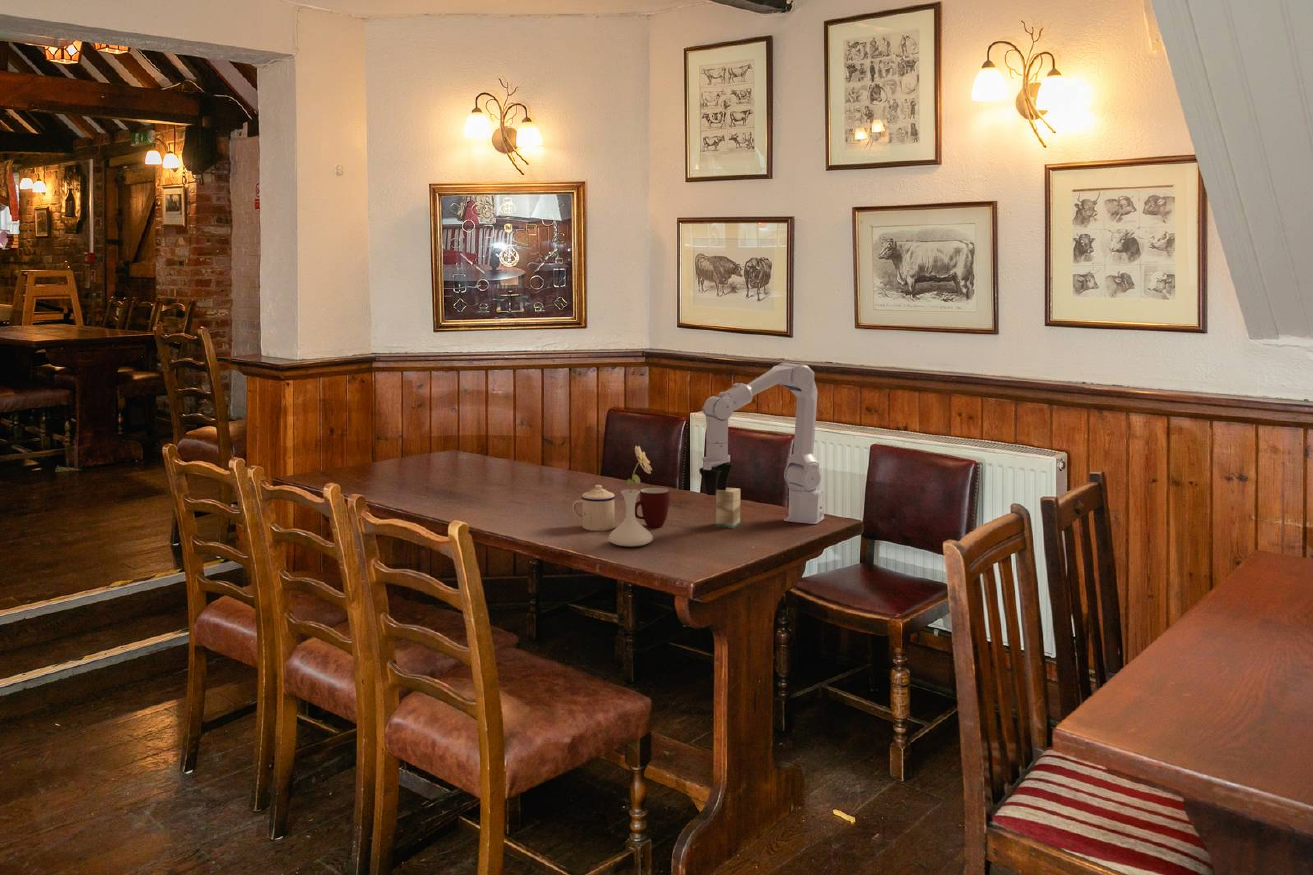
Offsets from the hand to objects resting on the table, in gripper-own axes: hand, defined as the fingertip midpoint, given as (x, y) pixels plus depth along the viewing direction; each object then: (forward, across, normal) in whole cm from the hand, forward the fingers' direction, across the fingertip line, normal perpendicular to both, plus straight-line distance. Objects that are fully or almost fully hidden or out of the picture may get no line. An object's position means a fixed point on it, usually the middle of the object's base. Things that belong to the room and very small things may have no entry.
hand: (716, 492), depth 291 cm
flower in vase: (+11, +22, -14) cm, 28 cm away
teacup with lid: (+11, +10, -32) cm, 35 cm away
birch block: (+10, -8, +1) cm, 13 cm away
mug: (+11, +3, -18) cm, 21 cm away
